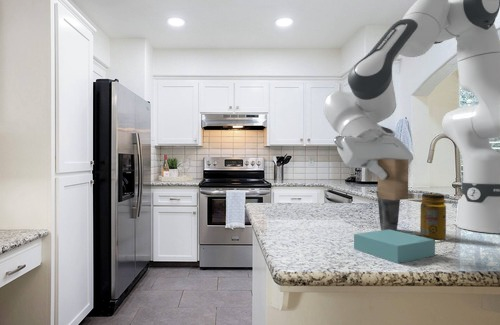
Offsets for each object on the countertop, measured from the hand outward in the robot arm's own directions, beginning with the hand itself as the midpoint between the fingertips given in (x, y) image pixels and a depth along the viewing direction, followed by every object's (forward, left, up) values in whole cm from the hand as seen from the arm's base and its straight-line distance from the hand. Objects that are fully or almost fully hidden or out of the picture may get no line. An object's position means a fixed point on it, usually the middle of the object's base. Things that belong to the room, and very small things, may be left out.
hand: (395, 177), depth 72 cm
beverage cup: (-19, -18, -17) cm, 31 cm away
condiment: (-21, -6, -17) cm, 28 cm away
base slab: (0, -1, -17) cm, 17 cm away
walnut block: (0, -1, -5) cm, 5 cm away
